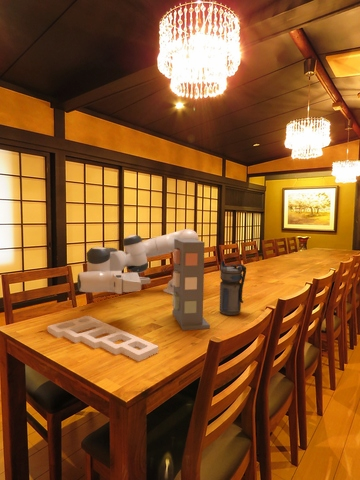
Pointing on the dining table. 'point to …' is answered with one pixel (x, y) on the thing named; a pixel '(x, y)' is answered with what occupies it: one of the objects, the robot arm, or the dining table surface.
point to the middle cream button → (176, 279)
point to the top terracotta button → (176, 256)
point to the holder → (86, 322)
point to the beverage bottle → (231, 288)
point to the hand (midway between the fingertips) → (150, 280)
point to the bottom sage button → (176, 301)
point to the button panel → (190, 284)
